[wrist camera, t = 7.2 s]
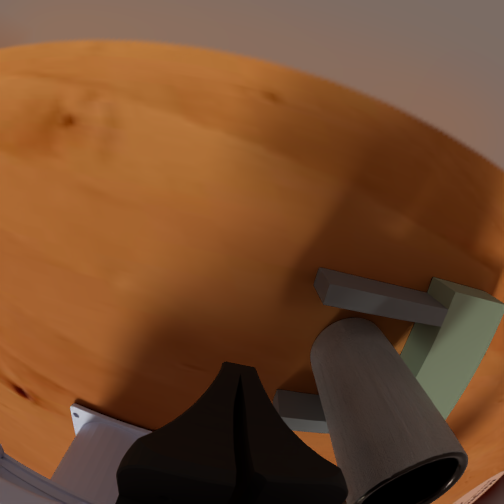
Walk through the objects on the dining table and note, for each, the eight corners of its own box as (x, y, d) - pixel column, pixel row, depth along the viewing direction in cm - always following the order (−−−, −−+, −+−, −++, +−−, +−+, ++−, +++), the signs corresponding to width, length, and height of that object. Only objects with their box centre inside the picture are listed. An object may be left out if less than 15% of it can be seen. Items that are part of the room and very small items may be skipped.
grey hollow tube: (317, 389, 17) (353, 534, 7) (301, 330, 16) (343, 491, 6) (386, 366, 17) (457, 492, 7) (378, 305, 16) (480, 431, 6)
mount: (417, 420, 18) (429, 441, 16) (268, 411, 18) (269, 438, 15) (484, 291, 16) (506, 305, 13) (324, 248, 15) (336, 262, 13)
